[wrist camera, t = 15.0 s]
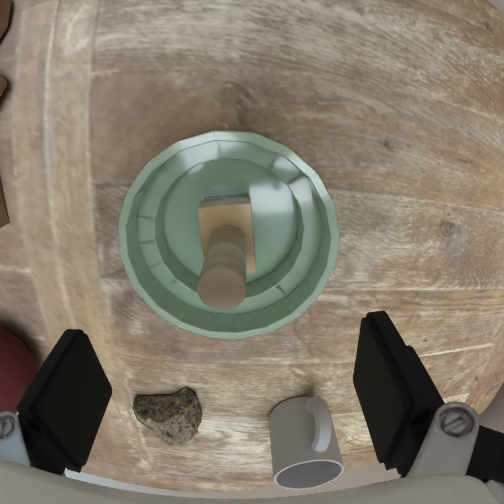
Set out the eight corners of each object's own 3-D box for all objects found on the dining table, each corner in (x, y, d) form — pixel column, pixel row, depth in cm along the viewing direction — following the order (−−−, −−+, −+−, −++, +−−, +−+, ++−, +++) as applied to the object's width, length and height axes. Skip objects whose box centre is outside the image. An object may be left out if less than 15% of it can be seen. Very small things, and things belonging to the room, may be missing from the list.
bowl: (216, 92, 21) (209, 82, 16) (354, 211, 25) (380, 234, 20) (112, 233, 25) (84, 260, 20) (242, 326, 29) (242, 367, 24)
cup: (262, 428, 35) (265, 489, 27) (284, 374, 32) (294, 444, 23) (316, 431, 36) (328, 488, 28) (346, 379, 32) (368, 443, 24)
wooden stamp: (203, 195, 24) (177, 245, 14) (249, 191, 24) (254, 238, 14) (211, 257, 26) (194, 333, 16) (255, 253, 26) (261, 329, 16)
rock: (216, 422, 35) (214, 452, 30) (159, 429, 35) (154, 456, 31) (193, 385, 32) (188, 417, 28) (132, 394, 33) (122, 423, 28)
